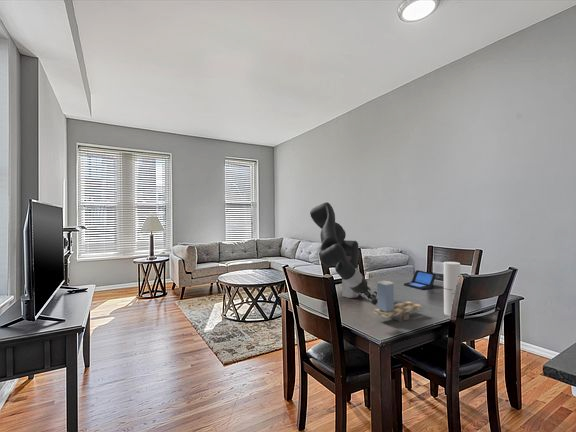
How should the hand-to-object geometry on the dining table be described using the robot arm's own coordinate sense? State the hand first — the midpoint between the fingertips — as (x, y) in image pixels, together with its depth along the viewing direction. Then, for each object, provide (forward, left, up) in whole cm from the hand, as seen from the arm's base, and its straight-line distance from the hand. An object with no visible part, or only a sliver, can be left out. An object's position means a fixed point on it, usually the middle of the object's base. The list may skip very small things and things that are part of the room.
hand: (375, 303), depth 137 cm
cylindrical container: (+36, +21, -10) cm, 43 cm away
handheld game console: (+29, +75, -10) cm, 81 cm away
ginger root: (+10, +10, -9) cm, 17 cm away
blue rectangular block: (+5, +5, -6) cm, 9 cm away
